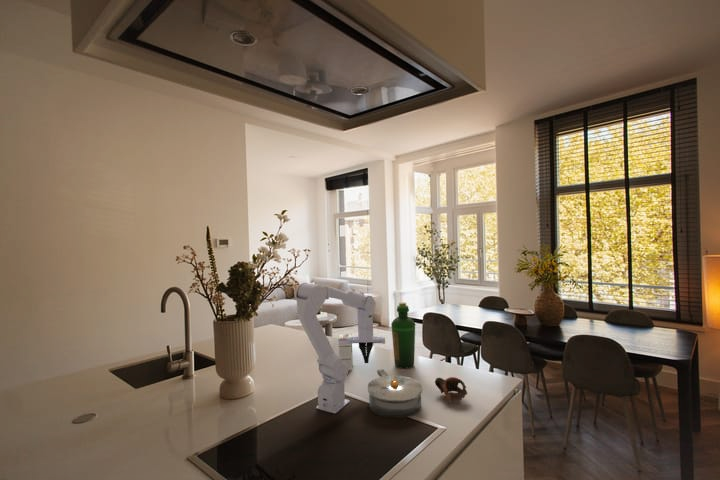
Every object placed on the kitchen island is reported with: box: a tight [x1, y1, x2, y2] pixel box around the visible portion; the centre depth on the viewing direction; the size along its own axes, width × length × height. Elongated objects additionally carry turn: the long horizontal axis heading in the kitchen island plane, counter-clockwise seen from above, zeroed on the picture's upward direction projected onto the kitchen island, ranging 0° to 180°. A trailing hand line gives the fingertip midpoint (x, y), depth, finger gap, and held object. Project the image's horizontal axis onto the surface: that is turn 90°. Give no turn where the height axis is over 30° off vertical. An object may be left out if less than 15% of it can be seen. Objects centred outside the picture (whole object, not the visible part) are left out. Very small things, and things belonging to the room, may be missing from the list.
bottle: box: [390, 302, 416, 370], centre depth 154 cm, size 11×11×28 cm
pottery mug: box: [434, 376, 468, 404], centre depth 122 cm, size 12×10×8 cm
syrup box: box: [337, 333, 354, 372], centre depth 152 cm, size 6×6×14 cm
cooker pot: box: [368, 393, 422, 419], centre depth 121 cm, size 24×18×5 cm
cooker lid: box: [367, 369, 423, 402], centre depth 121 cm, size 25×18×3 cm
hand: (366, 362), depth 130 cm, fingers closed
